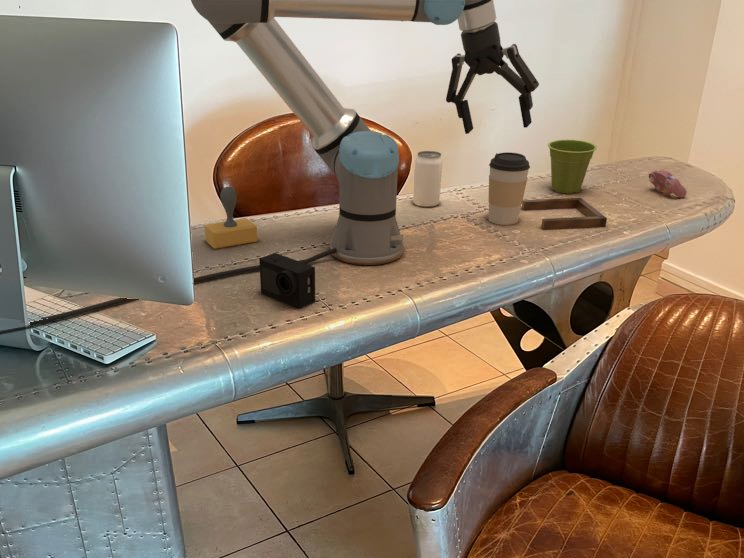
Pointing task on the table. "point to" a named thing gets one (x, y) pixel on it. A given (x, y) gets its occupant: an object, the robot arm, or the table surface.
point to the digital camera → (287, 280)
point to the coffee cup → (507, 187)
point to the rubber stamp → (230, 225)
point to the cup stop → (591, 220)
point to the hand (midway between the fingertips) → (498, 128)
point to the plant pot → (569, 164)
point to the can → (427, 179)
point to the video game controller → (667, 183)
